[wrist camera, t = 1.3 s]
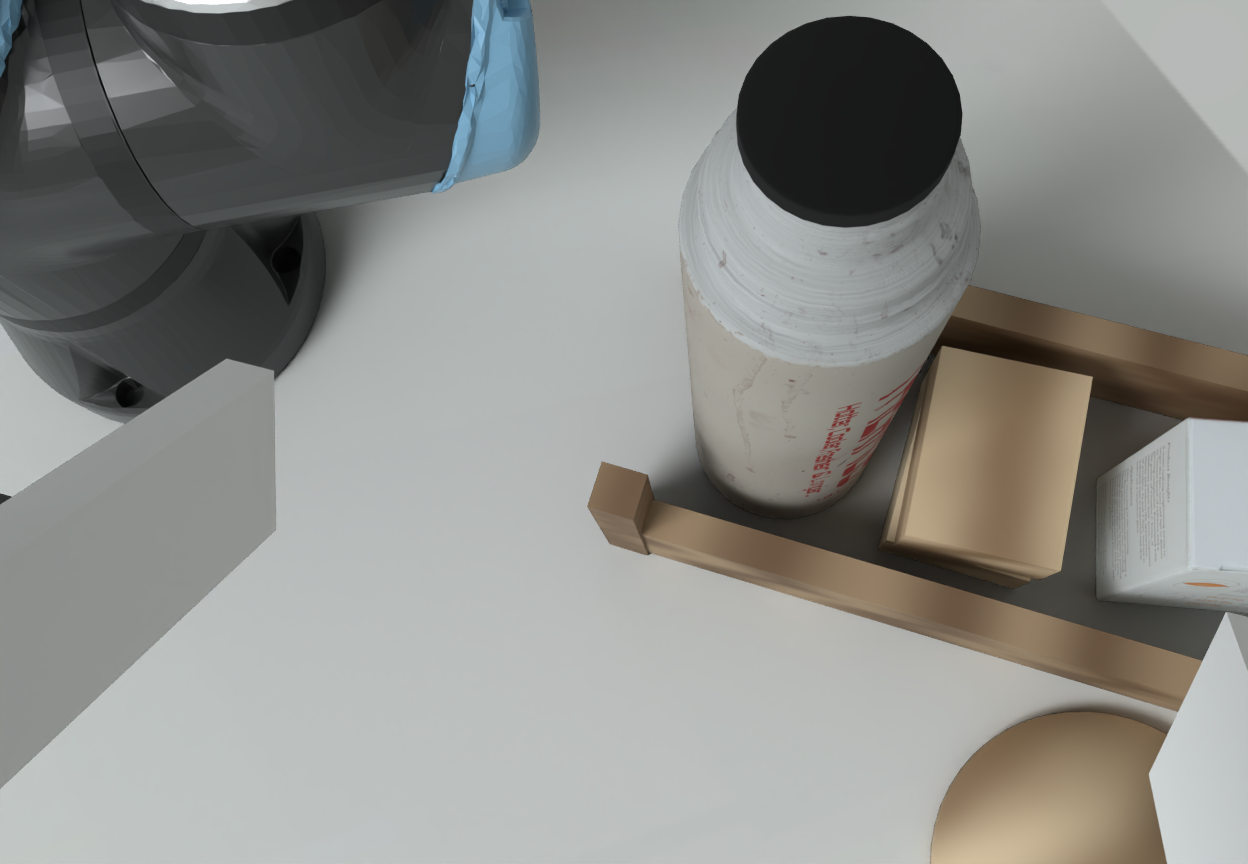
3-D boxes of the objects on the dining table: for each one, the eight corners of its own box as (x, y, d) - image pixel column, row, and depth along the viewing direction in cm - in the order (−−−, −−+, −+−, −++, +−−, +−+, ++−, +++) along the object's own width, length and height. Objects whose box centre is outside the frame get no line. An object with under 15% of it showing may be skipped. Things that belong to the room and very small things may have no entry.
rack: (609, 544, 51) (587, 506, 42) (700, 259, 54) (696, 169, 45) (1253, 738, 47) (1375, 740, 38) (1311, 417, 50) (1436, 351, 41)
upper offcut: (893, 546, 47) (904, 534, 44) (929, 367, 49) (942, 345, 46) (1039, 580, 46) (1060, 570, 43) (1070, 397, 48) (1092, 376, 45)
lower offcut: (876, 550, 50) (886, 539, 47) (920, 384, 52) (932, 364, 49) (1012, 589, 49) (1030, 581, 46) (1052, 419, 51) (1071, 401, 48)
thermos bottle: (906, 460, 51) (1120, 157, 24) (755, 552, 50) (797, 351, 23) (808, 319, 53) (902, -109, 26) (662, 406, 52) (602, 64, 25)
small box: (1282, 491, 49) (1429, 430, 39) (1287, 620, 48) (1441, 592, 37) (1091, 475, 50) (1186, 411, 40) (1091, 602, 48) (1189, 569, 38)
